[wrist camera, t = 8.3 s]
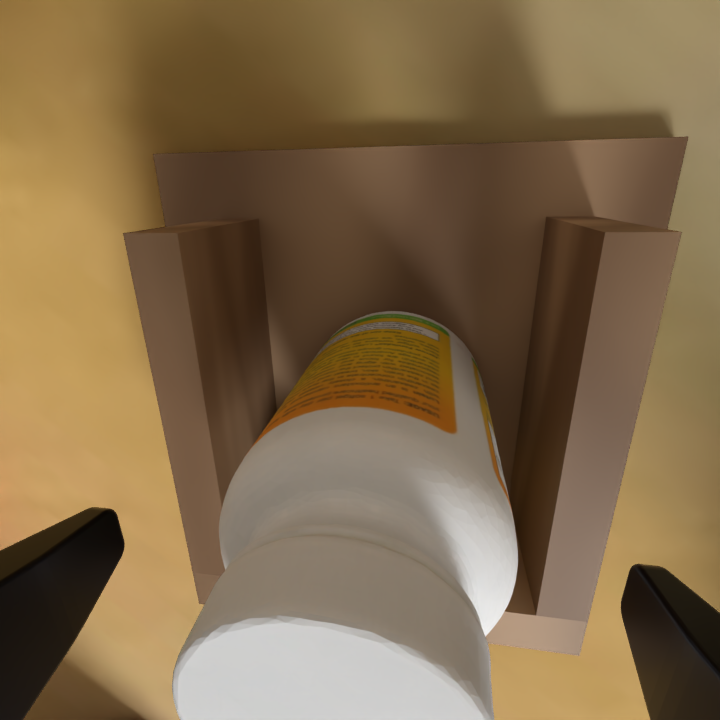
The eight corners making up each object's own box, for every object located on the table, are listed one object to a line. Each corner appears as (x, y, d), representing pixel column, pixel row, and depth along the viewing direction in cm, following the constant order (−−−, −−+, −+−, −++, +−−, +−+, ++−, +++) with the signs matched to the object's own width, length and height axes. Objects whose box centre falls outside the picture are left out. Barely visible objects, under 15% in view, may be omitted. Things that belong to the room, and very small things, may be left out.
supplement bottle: (281, 380, 15) (40, 682, 6) (399, 269, 13) (309, 468, 4) (392, 486, 16) (330, 891, 7) (518, 397, 14) (674, 806, 5)
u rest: (675, 138, 11) (846, 105, 6) (582, 563, 16) (641, 712, 12) (164, 155, 13) (20, 138, 9) (225, 524, 18) (154, 638, 14)
